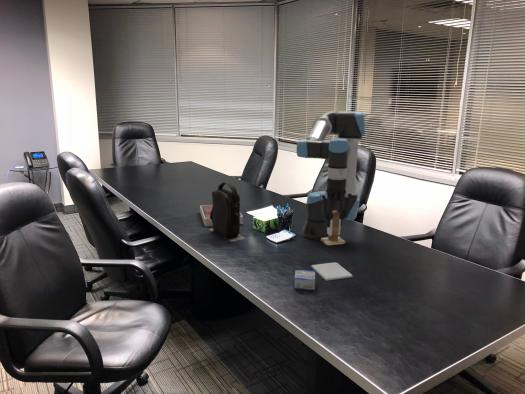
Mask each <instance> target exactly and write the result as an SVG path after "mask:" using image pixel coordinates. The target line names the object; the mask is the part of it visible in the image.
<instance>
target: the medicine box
mask: <svg viewBox="0 0 525 394" xmlns="http://www.w3.org/2000/svg"><path fill="white" fill-rule="evenodd" d="M294 273H295V274H294V281H293V289H295V290H296V289H297V290H307V291H308V290H310V291H315V290H316V288H315V287H316V271H315V270H305V269H295V272H294Z"/></svg>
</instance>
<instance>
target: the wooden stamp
mask: <svg viewBox="0 0 525 394" xmlns="http://www.w3.org/2000/svg"><path fill="white" fill-rule="evenodd" d="M331 219H332V220H333V222H332V235H331V236H330V235H329V234H328V237H326V238H321V240H320V241H321V242H322V243H323V244H324V245H327V246H333V245H344V244H346V240H344V239H343V238H342V237H340V236H339V235H338V233H339V219H340V212H338V211H332V216H331Z"/></svg>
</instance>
